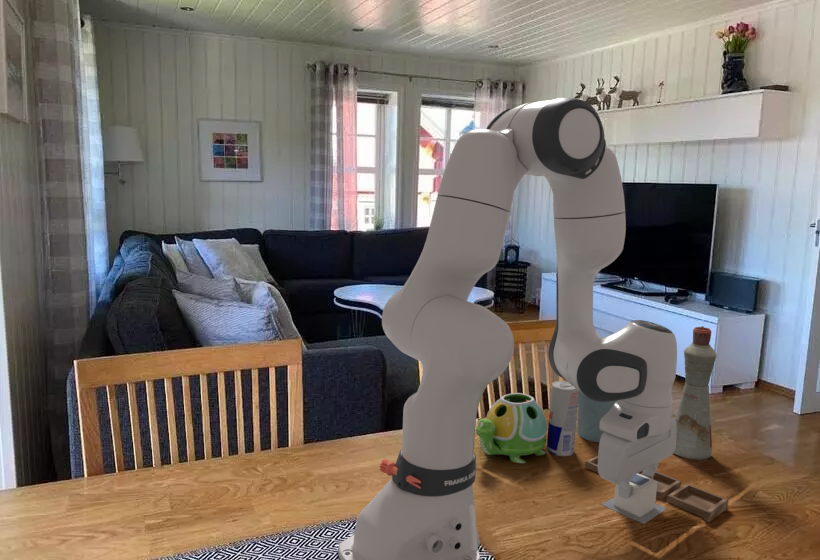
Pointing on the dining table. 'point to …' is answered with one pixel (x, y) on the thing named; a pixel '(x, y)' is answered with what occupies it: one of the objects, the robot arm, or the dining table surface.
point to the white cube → (638, 496)
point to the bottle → (696, 399)
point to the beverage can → (562, 418)
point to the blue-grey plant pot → (591, 417)
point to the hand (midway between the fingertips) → (635, 490)
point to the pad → (642, 519)
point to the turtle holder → (513, 427)
